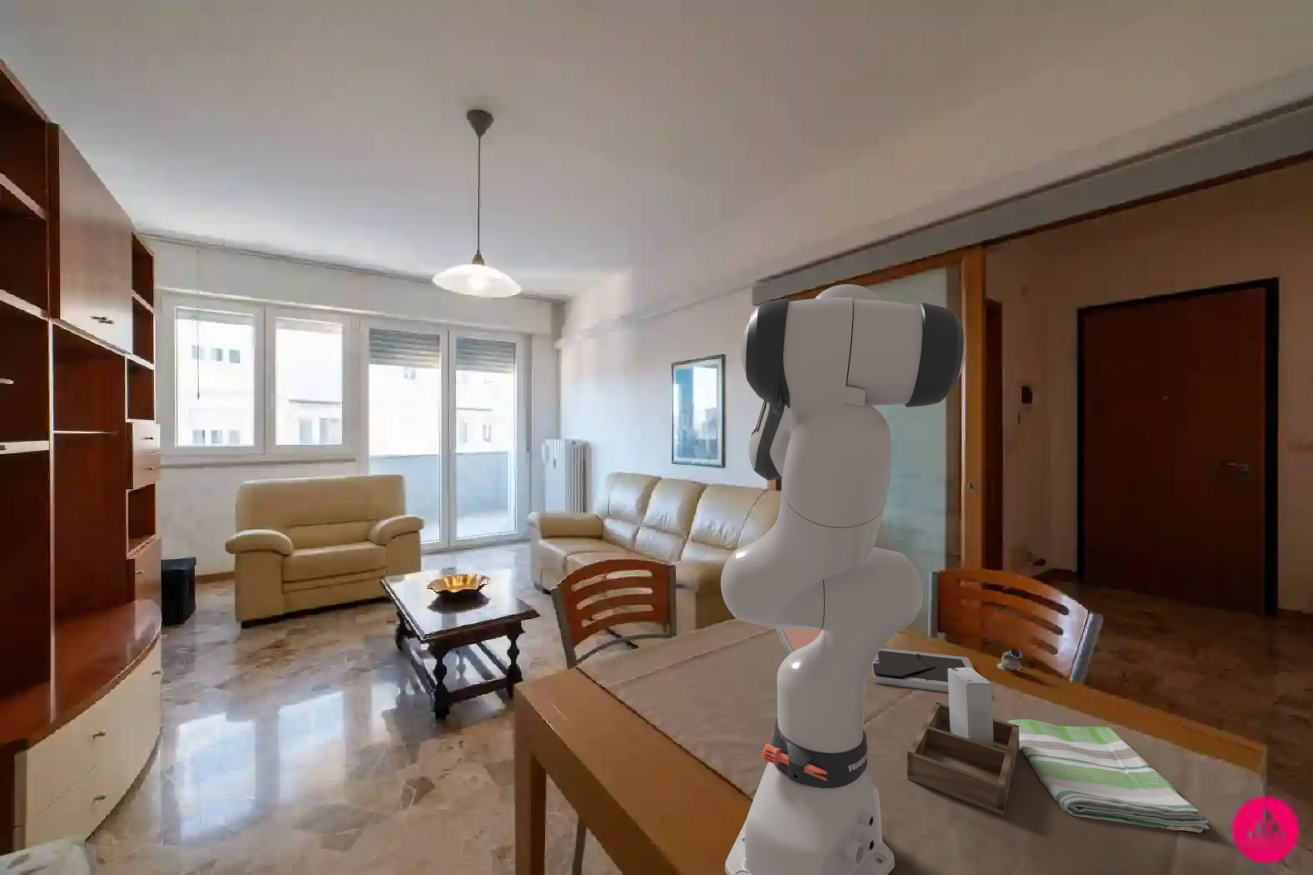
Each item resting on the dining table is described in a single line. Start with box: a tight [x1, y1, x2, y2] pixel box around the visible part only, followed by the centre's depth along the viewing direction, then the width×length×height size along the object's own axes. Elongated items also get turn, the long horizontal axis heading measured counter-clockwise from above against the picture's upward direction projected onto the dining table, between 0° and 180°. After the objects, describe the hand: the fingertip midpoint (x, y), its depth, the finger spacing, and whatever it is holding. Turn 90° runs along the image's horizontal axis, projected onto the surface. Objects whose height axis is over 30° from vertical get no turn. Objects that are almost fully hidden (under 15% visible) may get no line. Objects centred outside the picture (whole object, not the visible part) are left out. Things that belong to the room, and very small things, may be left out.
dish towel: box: [1006, 718, 1210, 831], centre depth 83 cm, size 17×23×4 cm
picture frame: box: [871, 647, 977, 693], centre depth 117 cm, size 16×3×21 cm
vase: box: [995, 648, 1024, 672], centre depth 116 cm, size 5×5×6 cm
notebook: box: [774, 628, 822, 656], centre depth 136 cm, size 27×17×2 cm, turn 178°
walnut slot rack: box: [906, 701, 1020, 816], centre depth 86 cm, size 19×13×4 cm, turn 140°
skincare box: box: [948, 667, 994, 747], centre depth 89 cm, size 6×4×12 cm
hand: (833, 568), depth 98 cm, fingers open, 8 cm apart
